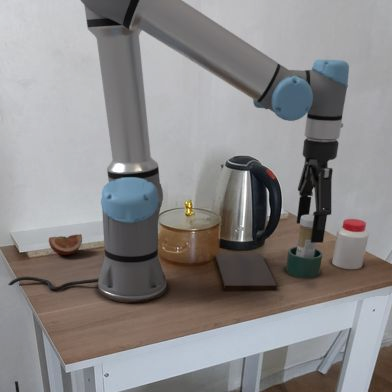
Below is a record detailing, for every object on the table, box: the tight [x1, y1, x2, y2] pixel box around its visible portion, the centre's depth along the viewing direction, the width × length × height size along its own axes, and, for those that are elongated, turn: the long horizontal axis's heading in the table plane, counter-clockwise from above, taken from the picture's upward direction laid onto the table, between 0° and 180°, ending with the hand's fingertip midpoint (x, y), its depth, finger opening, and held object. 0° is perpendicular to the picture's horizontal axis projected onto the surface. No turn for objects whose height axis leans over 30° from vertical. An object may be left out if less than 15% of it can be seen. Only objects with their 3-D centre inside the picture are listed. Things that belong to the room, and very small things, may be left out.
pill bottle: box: [331, 218, 370, 270], centre depth 141 cm, size 8×8×11 cm
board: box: [214, 252, 278, 291], centre depth 136 cm, size 12×20×1 cm, turn 5°
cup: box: [285, 246, 324, 279], centre depth 137 cm, size 8×8×5 cm
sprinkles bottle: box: [296, 214, 317, 258], centre depth 134 cm, size 5×5×13 cm
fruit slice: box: [48, 234, 83, 256], centre depth 141 cm, size 8×7×5 cm
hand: (309, 232), depth 133 cm, fingers open, 13 cm apart
